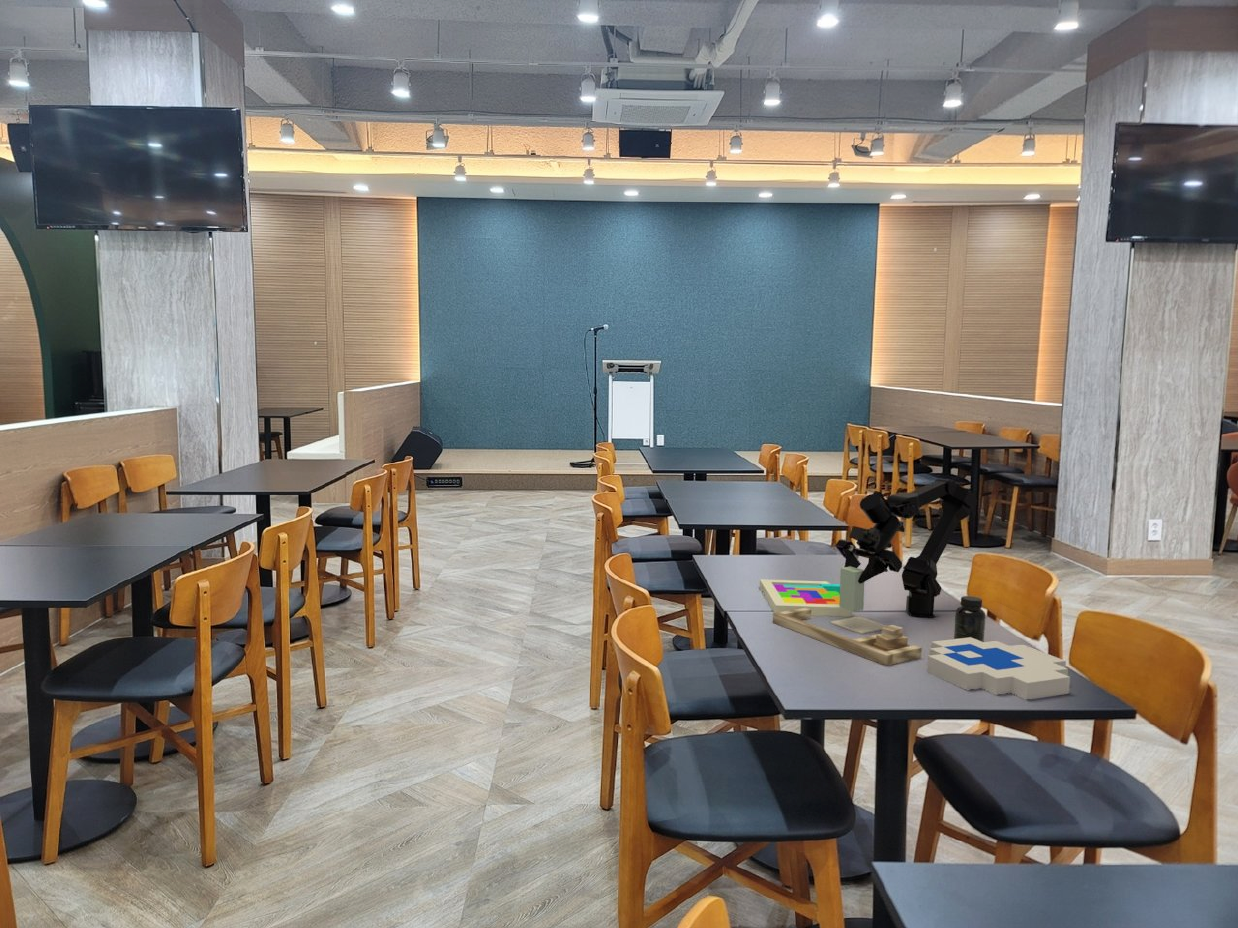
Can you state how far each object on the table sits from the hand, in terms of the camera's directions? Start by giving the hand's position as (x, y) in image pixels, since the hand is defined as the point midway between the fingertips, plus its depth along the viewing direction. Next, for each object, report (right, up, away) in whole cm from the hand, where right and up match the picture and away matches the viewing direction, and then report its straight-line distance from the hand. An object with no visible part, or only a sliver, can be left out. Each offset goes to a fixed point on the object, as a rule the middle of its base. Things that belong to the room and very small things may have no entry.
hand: (851, 580), depth 220 cm
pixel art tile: (+24, -17, -31) cm, 42 cm away
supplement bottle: (+26, -15, -11) cm, 32 cm away
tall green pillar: (0, -8, +1) cm, 8 cm away
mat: (+3, -13, +4) cm, 13 cm away
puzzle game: (-2, -11, +27) cm, 29 cm away
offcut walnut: (+5, -15, -17) cm, 24 cm away
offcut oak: (+5, -13, -18) cm, 22 cm away
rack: (-5, -14, -8) cm, 17 cm away
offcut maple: (+5, -11, -18) cm, 21 cm away
